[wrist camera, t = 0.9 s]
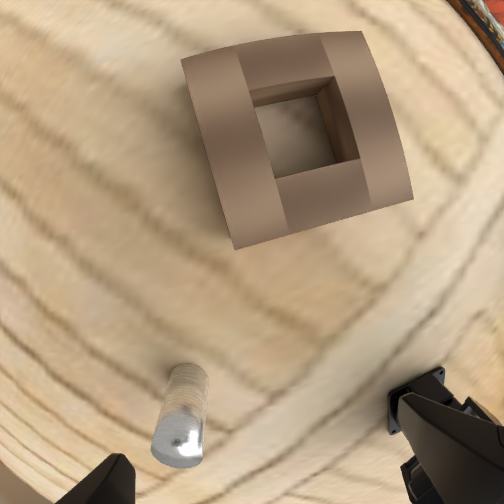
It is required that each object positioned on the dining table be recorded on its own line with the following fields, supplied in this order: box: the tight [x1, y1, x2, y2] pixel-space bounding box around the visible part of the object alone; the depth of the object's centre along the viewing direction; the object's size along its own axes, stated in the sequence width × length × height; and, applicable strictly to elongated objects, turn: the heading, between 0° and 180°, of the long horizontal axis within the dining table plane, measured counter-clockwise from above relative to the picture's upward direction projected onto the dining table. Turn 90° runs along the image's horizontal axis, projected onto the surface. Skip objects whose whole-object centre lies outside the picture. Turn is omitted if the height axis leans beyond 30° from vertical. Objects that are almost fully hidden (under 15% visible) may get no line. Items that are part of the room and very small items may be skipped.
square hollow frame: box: [181, 31, 414, 250], centre depth 17 cm, size 11×11×4 cm
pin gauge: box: [151, 364, 208, 468], centre depth 18 cm, size 3×3×8 cm
